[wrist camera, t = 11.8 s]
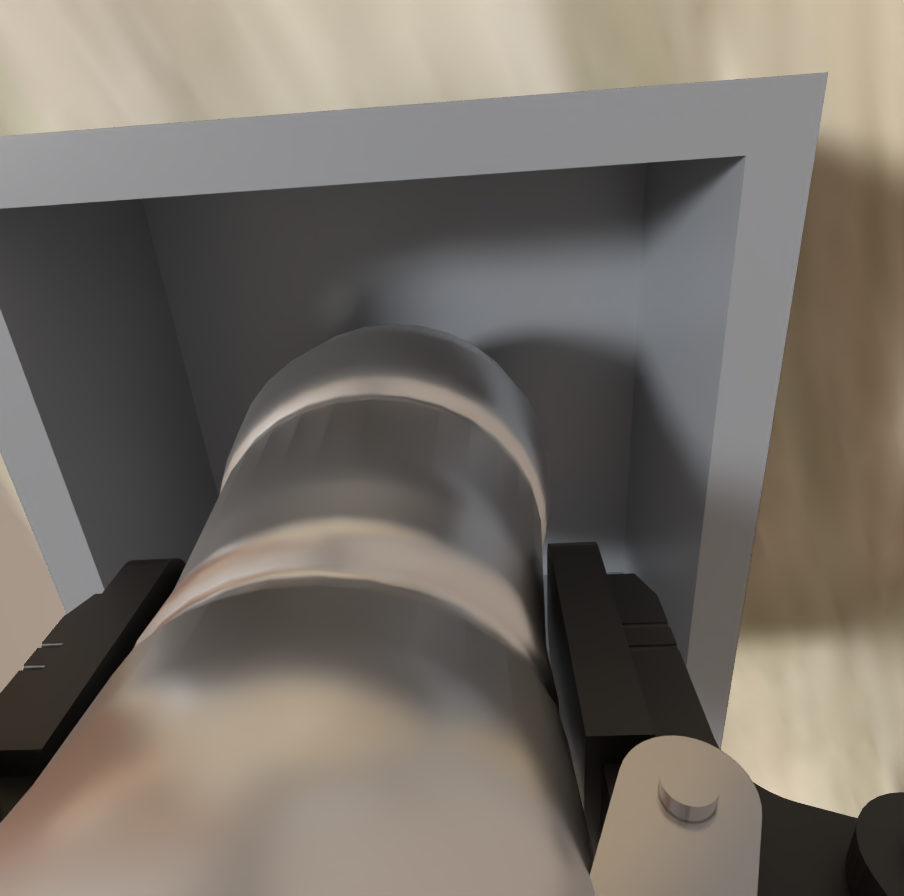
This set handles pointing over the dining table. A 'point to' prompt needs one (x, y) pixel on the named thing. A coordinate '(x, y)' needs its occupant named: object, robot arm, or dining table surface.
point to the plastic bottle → (337, 661)
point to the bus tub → (418, 310)
